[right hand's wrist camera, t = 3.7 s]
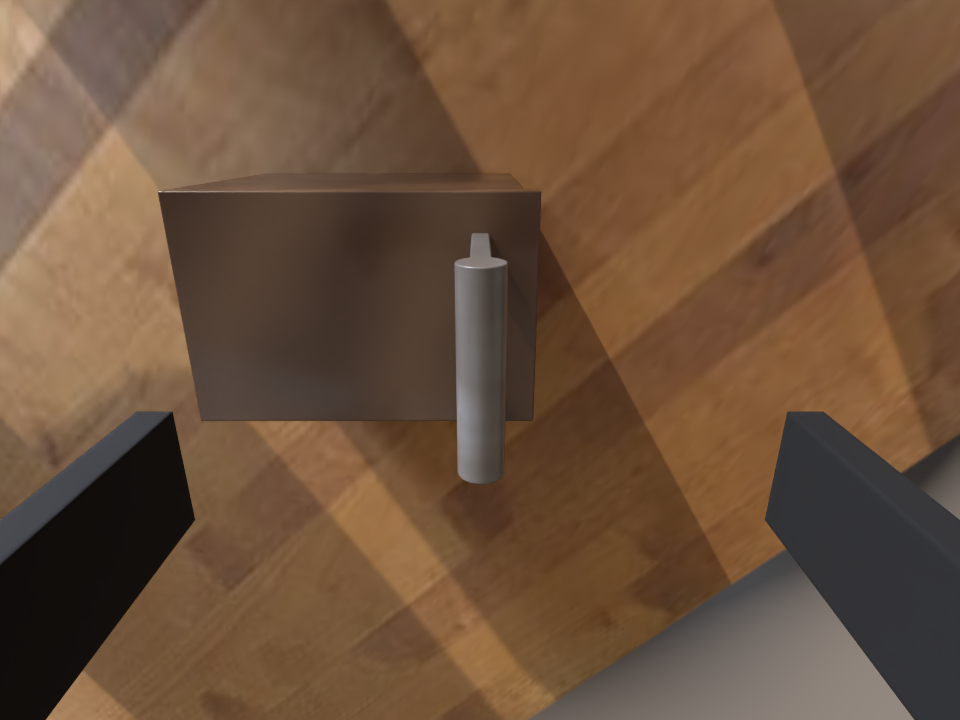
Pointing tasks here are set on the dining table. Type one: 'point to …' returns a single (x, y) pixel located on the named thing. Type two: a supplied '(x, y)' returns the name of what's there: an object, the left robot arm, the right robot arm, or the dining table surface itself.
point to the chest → (366, 181)
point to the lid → (362, 307)
